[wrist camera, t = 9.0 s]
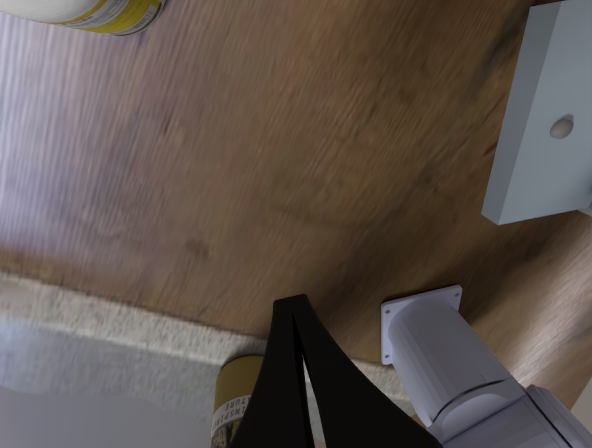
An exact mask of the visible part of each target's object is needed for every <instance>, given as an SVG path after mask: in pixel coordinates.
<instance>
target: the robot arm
mask: <svg viewBox="0 0 592 448" xmlns="http://www.w3.org/2000/svg"><path fill="white" fill-rule="evenodd" d="M461 294H462V288H461V286H460V285H454V286H450V287H446V288H442V289H437V290H433V291H429V292H425V293H421V294H417V295H412V296H408V297H404V298H400V299H396V300H392V301H387V302H384V303H383V304H382V306H381V356H382V362H383V364H390V363H392V364H393V366H394V368H395V370H396V372H397V374H398V376H399V378H400V380H401V382H402V384H403V386H404V388H405V390H406V392H407V394H408V396H409V398H410V400H411V402H412V405H413V407H414V409H415V411H416V413H417V414H418V416H419V418H420V419H421V421H422V422H423V423H424V424H425V425H426V426H427V430H426V429H424V428H423V427H422V426H421V425H419V424H418V423H417V422H416V421H414V420H413V419H412V418H411V417H409V416H408V415H407V414H406V413H405V412H404V411H402V410H401V409H400V408H399V407H398V406H397V405H395V404H394V403H393V402H392V401H391V400H390V399H389V398H388V397H387V396H386V395H385V394H383V393H382V392H381V391H380V390H379V389H378V388H377V387H376V386H375V385H374V384H373V383H372V382H371V381H370V380H369V379H368V378H367V377H366V376H365V375H364V374H363V373H362V372H361V371H360V370H359V369H358V368H357V367H356V366H355V365H354V363H353V362H352V361H351V360H350V359H349V358H348V357H347V355H346V354H345V353H344V352H343V351H342V349H341V348H340V347H339V346H338V344H337V343H336V342H335V341H334V339H333V338H332V337H331V335H330V334H329V333H328V331H327V330H326V328H325V327H324V325H323V324H322V323H321V321H320V319H319V318H318V316H317V315H316V313H315V311H314V310H313V308H312V306H311V304H310V302H309V300H308V297H307V295H306V294H300V295H296V296H292V297H287V298H283V299H279V300H275V301H274V303H273V315H272V322H271V328H270V333H269V338H268V342H267V347H266V351H265V354H264V358H263V361H262V365H261V368H260V371H259V375H258V378H257V381H256V383H255V386H254V389H253V392H252V395H251V397H250V400H249V402H248V405H247V407H246V410H245V412H244V414H243V417H242V419H241V421H240V424H239V426H238V428H237V430H236V432H235V434H234V436H233V439H232V441H231V443H230V445H229V447H228V448H315V445H314V439H313V434H312V429H311V424H310V417H309V410H308V402H307V393H306V384H305V375H304V366H303V358H304V361H305V365H306V368H307V371H308V375H309V378H310V381H311V385H312V388H313V391H314V395H315V398H316V401H317V405H318V409H319V414H320V419H321V424H322V428H323V433H324V438H325V443H326V447H327V448H592V434H590V432H589V431H588V430H587V429H586V428H585V427H584V426H583V425H582V424H581V423H580V422H579V421H578V419H577V418H576V417H575V416H574V415H573V414H572V413H571V412H570V411H569V410H568V409H567V408H566V407H565V406H564V405H563V404H562V403H561V402H560V401H559V400H558V399H557V398H556V397H555V396H554V395H553V394H552V393H551V392H550V391H549V390H548V389H545V388H542V387H537V386H536V385H533V384H531V385H530V386H529V387H527V388H526V389H525V388H524V387H523V386H522V385H520V384H519V383H518V382H517V381H516V379H515V378H514V377H513V376H512V375H511V374H510V372H509V371H508V370H507V369H506V368H505V367H504V365H503V364H502V363H501V362H500V361H499V359H498V358H497V357H496V356H495V355H494V354H493V352H492V351H491V350H490V349H489V348H488V347H487V345H486V344H485V343H484V342H483V341H482V340H481V338H480V337H479V336H478V335H477V334H476V332H475V331H474V330H473V329H472V328H471V327H470V325H469V324H468V323H467V322H466V321H465V320H464V318H463V317H462V316H461V315H460V314H459V313H458V310H459V304H460V299H461ZM302 354H303V357H302Z"/></svg>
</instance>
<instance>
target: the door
mask: <svg viewBox="0 0 592 448" xmlns="http://www.w3.org/2000/svg"><path fill="white" fill-rule="evenodd" d="M591 200H592V0H566V1H560V2H554V3H549V4H543V5H538V6H532V7H530V11H529V16H528V20H527V24H526V28H525V32H524V36H523V41H522V45H521V49H520V53H519V57H518V61H517V66H516V70H515V74H514V78H513V82H512V86H511V91H510V95H509V99H508V103H507V107H506V112H505V116H504V120H503V124H502V128H501V132H500V137H499V141H498V145H497V149H496V153H495V157H494V162H493V166H492V170H491V174H490V178H489V182H488V187H487V191H486V195H485V199H484V203H483V207H482V212H481V214H482V215H483V216H485V217H486V218H488V219H489V220H491V221H492V222H494V223H495V224H497V225H501V224H507V223H512V222H517V221H522V220H527V219H532V218H537V217H542V216H547V215H552V214H557V213H563V212H568V211H573V210H578V209H583V208H588V207H589V205H590V202H591Z"/></svg>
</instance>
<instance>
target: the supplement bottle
mask: <svg viewBox="0 0 592 448" xmlns="http://www.w3.org/2000/svg"><path fill="white" fill-rule="evenodd" d="M164 4H165V0H0V11H1V12H3V13H6V14H9V15H13V16H16V17H19V18H23V19H27V20H31V21H35V22H41V23H48V24H53V25H58V26H64V27H69V28H74V29H80V30H86V31H91V32H96V33H102V34H109V35H116V36H125V35H133V34H136V33H139V32H141V31H143V30H145V29H147V28H148V27H149V26H151V25H152V24H153V23H154V22H155V21H156V19H157V18H158V17H159V15H160V13H161V11H162V9H163V7H164Z"/></svg>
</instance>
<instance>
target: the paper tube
mask: <svg viewBox="0 0 592 448" xmlns="http://www.w3.org/2000/svg"><path fill="white" fill-rule="evenodd" d="M263 358H264V356H258V355H252V356H245V357H241V358H238V359H235V360H233V361H231V362H229V363H228V364H227V365H225V366H224V367H223V369H222V370H221V371H220V373H219V374H218V377H217V380H216V390H215V402H214V413H213V422H212V433H211V445H210V448H228V447H229V445H230V443H231V441H232V439H233V436H234V434H235V432H236V430H237V428H238V426H239V424H240V421H241V419H242V417H243V414H244V412H245V410H246V407H247V405H248V402H249V400H250V397H251V395H252V392H253V389H254V386H255V383H256V381H257V378H258V375H259V371H260V368H261V365H262V361H263Z"/></svg>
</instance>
